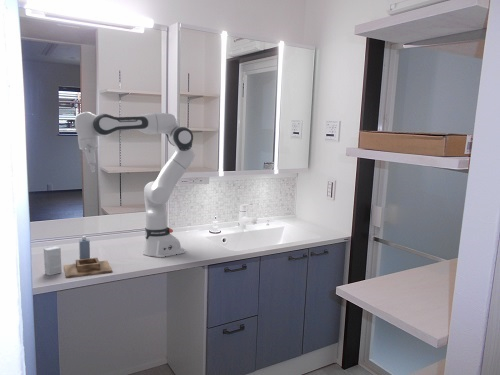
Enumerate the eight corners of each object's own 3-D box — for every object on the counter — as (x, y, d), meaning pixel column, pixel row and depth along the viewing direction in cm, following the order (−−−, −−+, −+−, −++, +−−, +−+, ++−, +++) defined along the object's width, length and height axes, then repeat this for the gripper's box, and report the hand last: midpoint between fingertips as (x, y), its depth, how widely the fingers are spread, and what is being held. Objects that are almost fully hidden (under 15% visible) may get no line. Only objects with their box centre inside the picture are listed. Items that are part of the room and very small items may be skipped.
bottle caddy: (107, 262, 209) (107, 254, 208) (112, 272, 195) (112, 264, 194) (63, 267, 200) (63, 259, 199) (66, 278, 185) (65, 269, 185)
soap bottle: (88, 259, 212) (88, 234, 211) (90, 262, 208) (89, 237, 207) (79, 260, 210) (78, 235, 209) (80, 263, 206) (79, 237, 205)
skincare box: (57, 270, 195) (56, 245, 193) (61, 272, 192) (60, 247, 190) (44, 273, 190) (43, 248, 188) (48, 276, 187) (47, 250, 186)
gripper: (94, 142, 197) (100, 171, 198) (95, 145, 216) (100, 171, 217) (80, 144, 195) (86, 173, 196) (82, 147, 214) (87, 173, 215)
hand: (93, 172), depth 207 cm, fingers open, 8 cm apart
